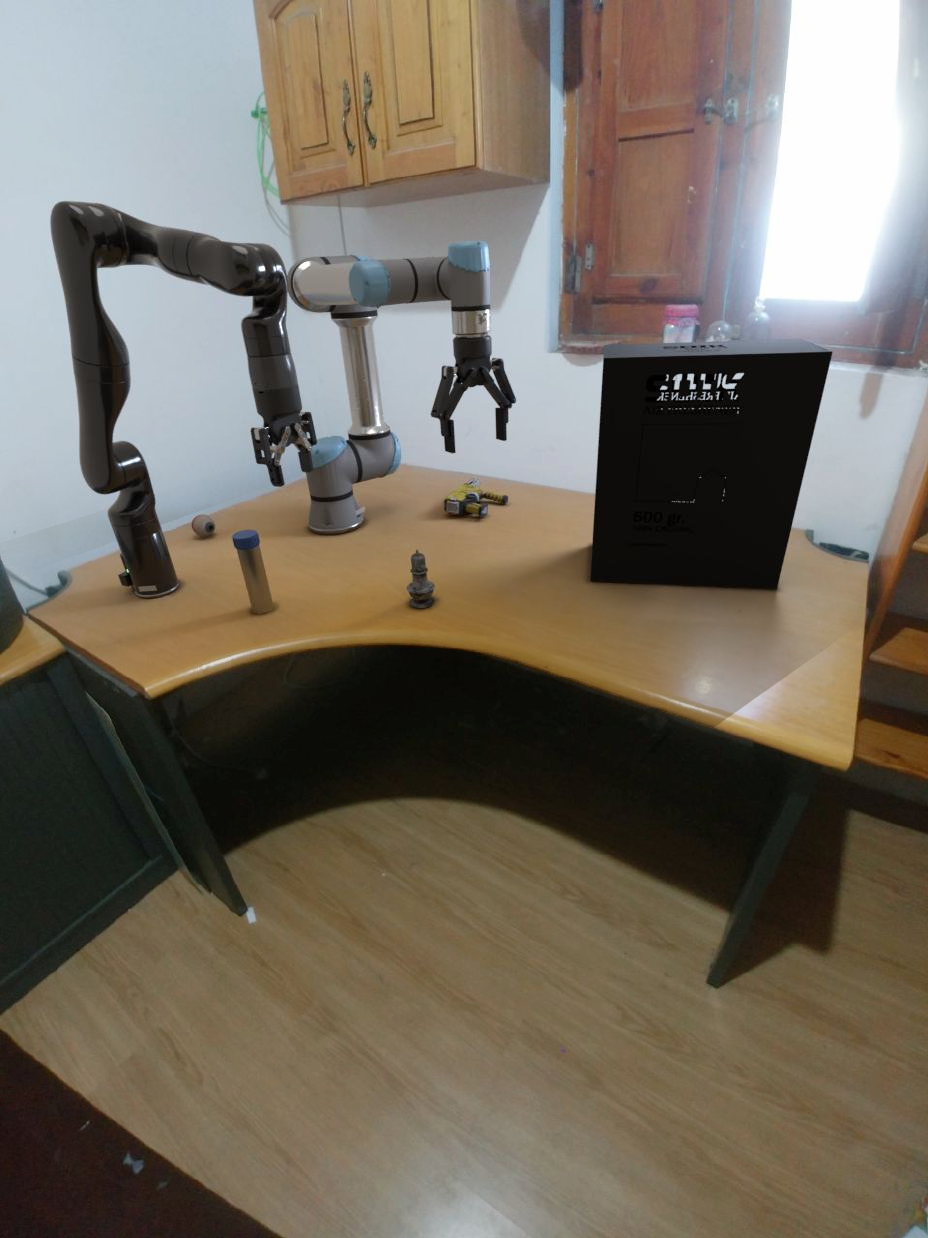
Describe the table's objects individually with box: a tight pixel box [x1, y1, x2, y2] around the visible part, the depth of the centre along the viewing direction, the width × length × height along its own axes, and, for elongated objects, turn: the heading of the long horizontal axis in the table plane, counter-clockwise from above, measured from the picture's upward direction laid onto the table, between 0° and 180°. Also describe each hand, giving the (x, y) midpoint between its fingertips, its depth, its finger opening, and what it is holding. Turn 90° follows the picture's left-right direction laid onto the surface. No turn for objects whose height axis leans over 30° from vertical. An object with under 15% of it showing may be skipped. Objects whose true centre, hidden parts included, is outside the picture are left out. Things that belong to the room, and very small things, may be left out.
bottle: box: [236, 544, 275, 615], centre depth 124 cm, size 4×4×17 cm
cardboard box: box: [589, 338, 834, 590], centre depth 125 cm, size 38×20×45 cm, turn 78°
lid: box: [231, 529, 261, 550], centre depth 120 cm, size 5×5×2 cm
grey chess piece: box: [406, 549, 436, 609], centre depth 124 cm, size 6×6×12 cm
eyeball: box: [191, 514, 216, 538], centre depth 166 cm, size 6×6×6 cm
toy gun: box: [443, 478, 509, 519], centre depth 176 cm, size 5×24×15 cm
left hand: (293, 478), depth 109 cm, fingers open, 8 cm apart
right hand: (476, 445), depth 127 cm, fingers open, 13 cm apart
